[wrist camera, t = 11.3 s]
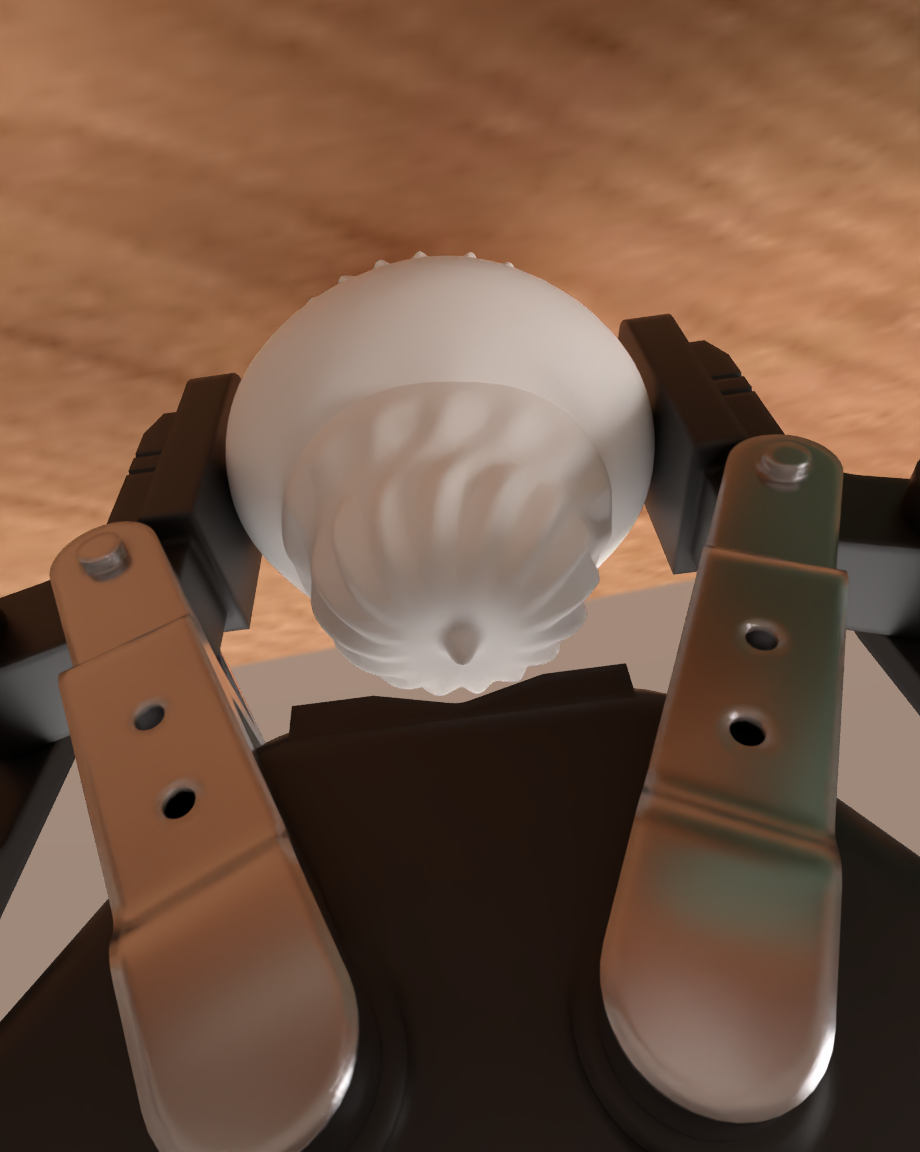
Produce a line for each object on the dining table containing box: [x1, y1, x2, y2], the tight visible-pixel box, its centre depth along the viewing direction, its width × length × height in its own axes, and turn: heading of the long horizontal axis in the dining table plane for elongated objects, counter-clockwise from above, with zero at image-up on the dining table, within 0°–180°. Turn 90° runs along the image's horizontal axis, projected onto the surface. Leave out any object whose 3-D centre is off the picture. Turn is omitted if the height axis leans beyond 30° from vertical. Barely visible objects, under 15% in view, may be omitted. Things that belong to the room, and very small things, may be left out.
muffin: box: [226, 251, 655, 696], centre depth 10 cm, size 6×6×7 cm
